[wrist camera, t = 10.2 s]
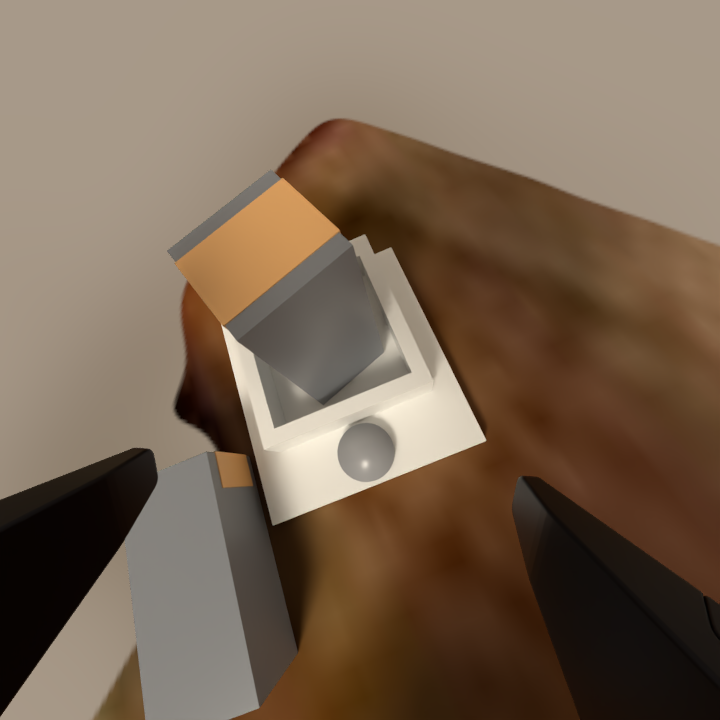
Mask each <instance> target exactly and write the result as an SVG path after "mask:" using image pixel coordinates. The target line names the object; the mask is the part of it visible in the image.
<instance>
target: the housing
mask: <svg viewBox="0 0 720 720" xmlns="http://www.w3.org/2000/svg"><path fill="white" fill-rule="evenodd" d="M349 242H350V243H351V244H352V245H353V247H354V250H355V254H356V257H357V261H358V264H359V268H360V271H361V274H362V278H363V281H364V285H365V288H366V291H367V295H368V298H369V302H370V305H371V308H372V312H373V315H374V319H375V322H376V325H377V329H378V332H379V336H380V339H381V342H382V346H383V349H384V353H383V354H381V355H380V356H379V357H378V358H377V359H376V360H375V361H373V362H372V363H371V364H370V365H369V366H368V367H367V368H365V369H364V370H363V371H362V372H361V373H360V374H359V375H357V376H356V377H355V378H354V379H353V380H352V381H351V382H349V383H348V384H347V385H346V386H345V387H344V388H342V389H341V390H340V391H339V392H338V393H337V394H336V395H334V396H333V397H332V398H331V399H330V400H329V401H328V402H326V403H325V404H324V405H322V404H321V403H320V402H318V401H317V400H316V399H314V398H313V397H311V396H310V395H309V394H307V393H306V392H305V391H303V390H302V389H301V388H299V387H298V386H297V385H295V384H294V383H293V382H291V381H290V380H289V379H287V378H286V377H285V376H283V375H282V374H281V373H279V372H278V371H277V370H275V369H274V368H272V367H271V366H270V365H268V364H267V363H266V362H264V361H263V360H262V359H260V358H259V357H258V356H256V355H255V354H254V353H252V352H251V351H250V350H248V349H247V348H246V347H244V346H243V345H242V344H240V343H239V342H237V341H236V339H235V338H234V337H233V335H232V334H231V333H230V332H229V330H227V329H226V328H225V327H223V326H222V328H223V332H224V336H225V340H226V344H227V348H228V352H229V356H230V360H231V364H232V368H233V372H234V376H235V380H236V384H237V387H238V391H239V395H240V399H241V403H242V407H243V411H244V415H245V419H246V423H247V427H248V431H249V435H250V439H251V442H252V446H253V450H254V454H255V458H256V462H257V466H258V470H259V474H260V478H261V482H262V486H263V490H264V494H265V498H266V501H267V505H268V509H269V513H270V517H271V521H272V525H273V526H274V525H276V524H279V523H282V522H284V521H287V520H289V519H292V518H294V517H297V516H299V515H302V514H304V513H307V512H309V511H312V510H314V509H317V508H319V507H322V506H325V505H327V504H330V503H332V502H335V501H337V500H340V499H342V498H345V497H347V496H350V495H352V494H355V493H357V492H360V491H362V490H365V489H367V488H370V487H372V486H375V485H377V484H380V483H382V482H385V481H387V480H390V479H392V478H395V477H397V476H400V475H402V474H405V473H407V472H410V471H412V470H415V469H417V468H420V467H422V466H425V465H428V464H430V463H433V462H435V461H438V460H440V459H443V458H445V457H448V456H450V455H453V454H455V453H458V452H460V451H463V450H465V449H468V448H470V447H473V446H475V445H478V444H480V443H483V442H485V441H486V439H485V437H484V435H483V433H482V431H481V429H480V426H479V424H478V422H477V420H476V418H475V416H474V414H473V412H472V410H471V408H470V406H469V404H468V402H467V400H466V398H465V396H464V394H463V392H462V390H461V388H460V386H459V384H458V382H457V380H456V378H455V376H454V374H453V372H452V370H451V368H450V366H449V364H448V362H447V360H446V357H445V355H444V353H443V351H442V349H441V347H440V345H439V343H438V341H437V339H436V337H435V335H434V333H433V331H432V329H431V327H430V325H429V323H428V321H427V319H426V317H425V315H424V313H423V311H422V309H421V307H420V305H419V303H418V301H417V299H416V297H415V295H414V293H413V291H412V288H411V286H410V284H409V282H408V280H407V278H406V276H405V274H404V272H403V270H402V268H401V266H400V264H399V262H398V260H397V258H396V256H395V254H394V252H393V250H392V248H391V247H390V248H388V249H386V250H383V251H381V252H379V253H376V254H374V252H373V250H372V248H371V246H370V244H369V242H368V239H367V237H366V235H365V234H364V235H362V236H360V237H357V238H355V239H353V240H350V241H349ZM221 325H222V324H221Z"/></svg>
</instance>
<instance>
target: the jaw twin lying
mask: <svg viewBox="0 0 720 720" xmlns="http://www.w3.org/2000/svg"><path fill="white" fill-rule="evenodd" d="M125 544H126V554H127V562H128V571H129V580H130V589H131V596H132V606H133V614H134V623H135V632H136V641H137V650H138V658H139V667H140V676H141V685H142V693H143V702H144V711H145V719H146V720H229V719H231V718H234V717H237V716H239V715H242V714H245V713H247V712H250V711H253V710H255V709H258V708H260V706H261V705H262V704H263V702H264V701H265V699H266V698H267V696H268V695H269V694H270V692H271V691H272V689H273V688H274V686H275V685H276V683H277V682H278V681H279V679H280V678H281V676H282V675H283V673H284V672H285V671H286V669H287V668H288V666H289V665H290V663H291V662H292V660H293V659H294V658H295V656H296V655H297V653H298V651H297V647H296V643H295V639H294V635H293V631H292V626H291V622H290V618H289V614H288V610H287V606H286V602H285V598H284V594H283V590H282V586H281V582H280V578H279V574H278V570H277V566H276V562H275V558H274V554H273V550H272V546H271V542H270V538H269V534H268V530H267V526H266V522H265V517H264V513H263V509H262V505H261V501H260V497H259V493H258V489H257V485H256V481H255V477H254V473H253V469H252V465H251V461H250V457H249V456H246V455H245V454H236V453H227V452H218V451H215V452H205V453H202V454H200V455H197V456H195V457H193V458H190V459H188V460H185V461H182V462H180V463H178V464H175V465H173V466H170V467H168V468H165V469H163V470H160V471H158V482H157V485H156V487H155V489H154V491H153V492H152V494H151V496H150V497H149V499H148V501H147V503H146V504H145V506H144V508H143V509H142V511H141V513H140V515H139V516H138V518H137V520H136V522H135V523H134V525H133V527H132V528H131V530H130V532H129V534H128V535H127V537H126V538H125Z"/></svg>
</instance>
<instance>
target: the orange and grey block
mask: <svg viewBox="0 0 720 720" xmlns="http://www.w3.org/2000/svg"><path fill="white" fill-rule="evenodd" d="M168 253H169V254H170V255H171V256H172V258H173V259H174V260H175V265H176V266H177V267H178V269H179V270H180V271H181V272H182V274H183V275H184V276H185V278H186V279H187V280H188V282H189V283H190V284H191V285H192V287H193V288H194V289H195V291H196V292H197V293H198V295H199V296H200V297H201V298H202V300H203V301H204V302H205V304H206V305H207V306H208V307H209V309H210V310H211V311H212V313H213V314H214V315H215V317H216V318H217V319H218V320H219V322H220V323H221V324H222V326H223V327H225V328H226V329H227V330H229V332H230V333H231V334H232V335H233V337H234V338H235V339H236V341H237V342H239V343H240V344H242V345H243V346H244V347H246V348H247V349H248V350H250V351H251V352H252V353H254V354H255V355H256V356H258V357H259V358H260V359H262V360H263V361H264V362H266V363H267V364H268V365H270V366H271V367H272V368H274V369H275V370H277V371H278V372H279V373H281V374H282V375H283V376H285V377H286V378H287V379H289V380H290V381H291V382H293V383H294V384H295V385H297V386H298V387H299V388H301V389H302V390H303V391H305V392H306V393H307V394H309V395H310V396H311V397H313V398H314V399H316V400H317V401H318V402H320V403H321V404H322V405H324V404H325V403H326V402H328V401H329V400H330V399H331V398H332V397H333V396H334V395H336V394H337V393H338V392H339V391H340V390H341V389H342V388H344V387H345V386H346V385H347V384H348V383H349V382H351V381H352V380H353V379H354V378H355V377H356V376H357V375H359V374H360V373H361V372H362V371H363V370H364V369H365V368H367V367H368V366H369V365H370V364H371V363H372V362H373V361H375V360H376V359H377V358H378V357H379V356H380V355H381V354H383V353H384V349H383V346H382V342H381V339H380V336H379V332H378V329H377V325H376V322H375V319H374V315H373V312H372V308H371V305H370V302H369V298H368V295H367V291H366V288H365V285H364V281H363V278H362V274H361V271H360V268H359V264H358V261H357V257H356V254H355V250H354V247H353V245H352V244H351V243H350V242H349V241H348V240H347V239H346V238H345V237H344V236H343V235H341V232H340V230H339V229H338V228H337V227H336V226H335V225H334V224H333V223H331V222H330V221H329V220H328V219H327V218H326V217H325V216H324V215H323V214H322V213H321V212H319V211H318V210H317V209H316V208H315V207H314V206H313V205H312V204H311V203H310V202H308V201H307V200H306V199H305V198H304V197H303V196H302V195H301V194H300V193H299V192H298V191H296V190H295V189H294V188H293V187H292V186H291V185H290V184H289V183H288V182H287V181H286V180H284V179H283V178H282V179H281V178H279V177H278V176H277V175H276V174H275V173H274V172H273V171H272V170H270V171H268V172H267V173H266V174H265V175H263V176H262V177H261V178H259V179H258V180H257V181H256V182H254V183H253V184H252V185H251V186H249V187H248V188H247V189H245V190H244V191H243V192H242V193H240V194H239V195H238V196H236V197H235V198H234V199H233V200H231V201H230V202H229V203H228V204H226V205H225V206H224V207H222V208H221V209H220V210H219V211H217V212H216V213H215V214H214V215H212V216H211V217H210V218H208V219H207V220H206V221H205V222H203V223H202V224H201V225H199V226H198V227H197V228H196V229H194V230H193V231H192V232H191V233H189V234H188V235H187V236H185V237H184V238H183V239H182V240H180V241H179V242H178V243H176V244H175V245H174V246H173V247H171V248H170V249H169V250H168Z"/></svg>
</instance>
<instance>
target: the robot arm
mask: <svg viewBox="0 0 720 720" xmlns="http://www.w3.org/2000/svg"><path fill="white" fill-rule="evenodd" d="M157 482H158V472H157V468H156V463H155V458H154V453H153V452H152V451H151V450H150V449H144V448H132V449H130V450H127V451H124V452H122V453H119V454H117V455H114V456H112V457H109V458H106V459H104V460H101V461H99V462H96V463H94V464H91V465H88V466H86V467H84V468H81V469H78V470H76V471H73V472H71V473H68V474H66V475H63V476H60V477H58V478H55V479H53V480H50V481H48V482H45V483H42V484H40V485H37V486H35V487H32V488H29V489H27V490H24V491H22V492H19V493H17V494H14V495H12V496H9V497H6V498H4V499H1V500H0V716H1V715H2V714H3V712H4V711H5V709H6V708H7V707H8V705H9V704H10V702H11V701H12V699H13V698H14V696H15V695H16V694H17V692H18V691H19V689H20V688H21V687H22V685H23V684H24V682H25V681H26V680H27V678H28V677H29V675H30V674H31V673H32V671H33V670H34V668H35V667H36V665H37V664H38V662H39V661H40V660H41V658H42V657H43V656H44V654H45V653H46V651H47V650H48V648H49V647H50V645H51V644H52V643H53V641H54V640H55V639H56V637H57V636H58V634H59V633H60V631H61V630H62V629H63V627H64V626H65V624H66V623H67V621H68V620H69V619H70V617H71V616H72V614H73V613H74V612H75V610H76V609H77V607H78V606H79V605H80V603H81V602H82V600H83V599H84V597H85V596H86V595H87V593H88V592H89V590H90V589H91V588H92V586H93V585H94V583H95V582H96V580H97V579H98V578H99V576H100V575H101V573H102V572H103V570H104V569H105V568H106V566H107V564H108V563H109V562H110V561H111V559H112V558H113V556H114V555H115V554H116V552H117V551H118V549H119V548H120V546H121V545H122V543H123V542H124V540H125V538H126V537H127V535H128V534H129V532H130V530H131V528H132V527H133V525H134V523H135V522H136V520H137V518H138V516H139V515H140V513H141V511H142V509H143V508H144V506H145V504H146V503H147V501H148V499H149V497H150V496H151V494H152V492H153V491H154V489H155V487H156V485H157ZM512 512H513V517H514V521H515V525H516V529H517V533H518V537H519V541H520V545H521V549H522V553H523V557H524V561H525V565H526V569H527V572H528V576H529V580H530V583H531V586H532V589H533V591H534V594H535V597H536V600H537V602H538V605H539V608H540V611H541V613H542V616H543V619H544V622H545V624H546V627H547V630H548V633H549V635H550V638H551V641H552V644H553V646H554V649H555V652H556V654H557V657H558V660H559V663H560V665H561V668H562V671H563V674H564V676H565V679H566V682H567V685H568V687H569V690H570V693H571V696H572V698H573V701H574V704H575V706H576V709H577V712H578V715H579V717H580V720H720V605H719V604H718V603H716V602H715V601H714V600H712V599H711V598H709V597H708V596H703V593H702V592H701V591H699V590H698V589H696V588H695V587H694V586H692V585H691V584H689V583H688V582H686V581H685V580H684V579H682V578H681V577H679V576H678V575H677V574H675V573H674V572H672V571H671V570H669V569H668V568H667V567H665V566H664V565H662V564H661V563H660V562H658V561H657V560H655V559H654V558H652V557H651V556H650V555H648V554H647V553H645V552H644V551H643V550H641V549H640V548H638V547H637V546H635V545H634V544H633V543H631V542H630V541H628V540H627V539H625V538H624V537H623V536H621V535H620V534H618V533H617V532H616V531H614V530H613V529H611V528H610V527H608V526H607V525H606V524H604V523H603V522H601V521H600V520H599V519H597V518H596V517H594V516H593V515H591V514H590V513H589V512H587V511H586V510H584V509H583V508H581V507H580V506H579V505H577V504H576V503H574V502H573V501H572V500H570V499H569V498H567V497H566V496H564V495H563V494H562V493H560V492H559V491H557V490H556V489H555V488H553V487H552V486H550V485H549V484H547V483H546V482H545V481H543V480H542V479H540V478H539V477H533V476H520V477H519V478H518V480H517V484H516V489H515V494H514V499H513V504H512Z"/></svg>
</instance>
